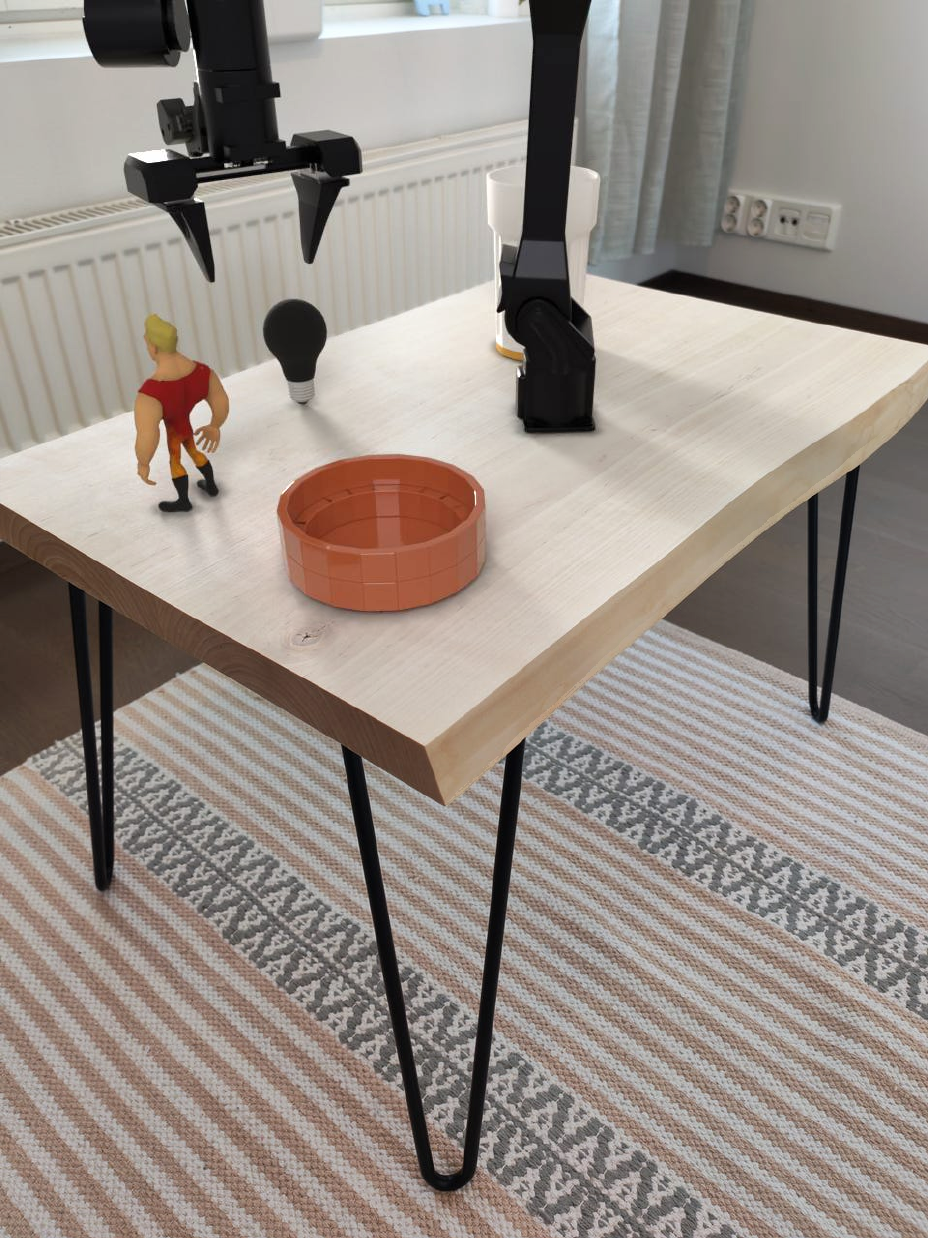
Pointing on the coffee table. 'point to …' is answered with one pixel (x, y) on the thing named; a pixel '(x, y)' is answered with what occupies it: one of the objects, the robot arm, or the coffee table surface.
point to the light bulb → (296, 343)
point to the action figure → (176, 412)
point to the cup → (507, 225)
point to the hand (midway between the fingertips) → (260, 271)
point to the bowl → (383, 531)
